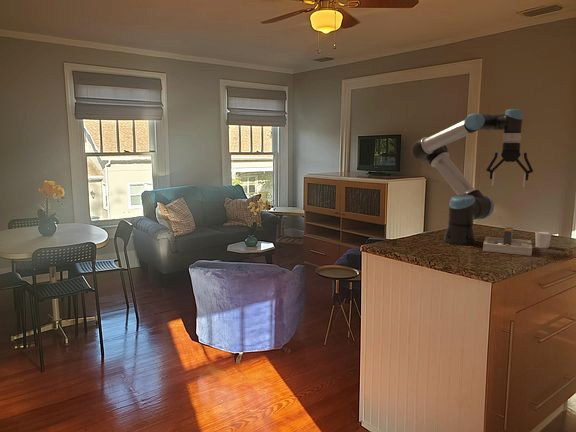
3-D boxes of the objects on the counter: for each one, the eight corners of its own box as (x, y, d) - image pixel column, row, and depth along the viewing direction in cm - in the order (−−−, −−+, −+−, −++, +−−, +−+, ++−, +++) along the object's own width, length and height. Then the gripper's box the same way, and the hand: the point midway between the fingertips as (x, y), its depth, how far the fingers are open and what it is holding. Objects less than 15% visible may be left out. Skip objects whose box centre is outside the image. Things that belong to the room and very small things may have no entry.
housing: (482, 250, 209) (483, 242, 208) (485, 243, 225) (486, 235, 224) (531, 255, 200) (532, 247, 199) (530, 247, 216) (531, 239, 215)
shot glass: (542, 248, 214) (543, 234, 212) (530, 245, 220) (532, 231, 219) (553, 247, 215) (555, 233, 214) (542, 244, 222) (543, 231, 221)
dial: (494, 240, 220) (495, 224, 218) (522, 243, 214) (523, 226, 213) (492, 245, 209) (493, 228, 208) (521, 248, 204) (523, 231, 202)
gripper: (482, 142, 217) (479, 185, 220) (541, 142, 206) (537, 188, 209) (483, 142, 224) (480, 184, 227) (541, 142, 212) (536, 187, 216)
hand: (507, 186), depth 218 cm, fingers open, 13 cm apart
